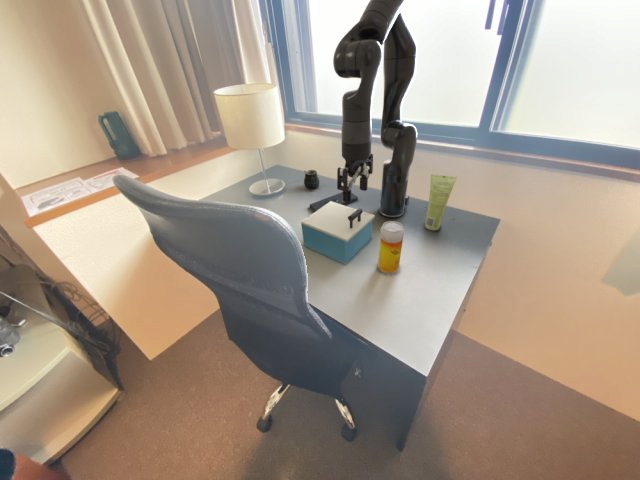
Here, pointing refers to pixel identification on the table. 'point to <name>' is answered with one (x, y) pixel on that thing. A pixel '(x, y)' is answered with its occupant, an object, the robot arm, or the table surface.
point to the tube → (438, 199)
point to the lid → (338, 220)
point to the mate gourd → (311, 179)
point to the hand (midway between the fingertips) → (355, 195)
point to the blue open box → (336, 242)
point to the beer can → (390, 246)
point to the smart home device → (335, 198)
